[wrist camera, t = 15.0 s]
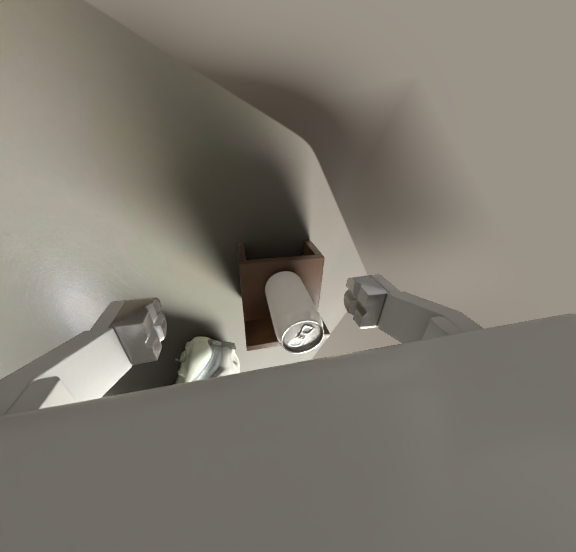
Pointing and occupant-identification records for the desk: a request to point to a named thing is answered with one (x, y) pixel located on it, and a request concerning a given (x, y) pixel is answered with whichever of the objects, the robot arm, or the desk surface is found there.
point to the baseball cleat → (207, 360)
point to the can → (293, 313)
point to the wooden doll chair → (254, 294)
